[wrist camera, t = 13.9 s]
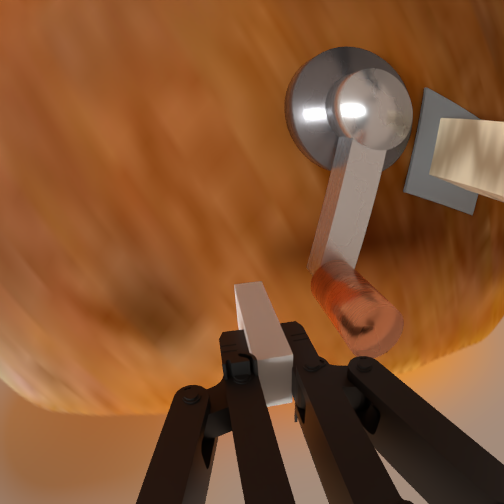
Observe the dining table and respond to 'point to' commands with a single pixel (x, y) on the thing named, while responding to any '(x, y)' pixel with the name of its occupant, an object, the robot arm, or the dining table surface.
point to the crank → (357, 206)
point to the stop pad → (423, 155)
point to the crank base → (314, 97)
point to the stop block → (471, 155)
